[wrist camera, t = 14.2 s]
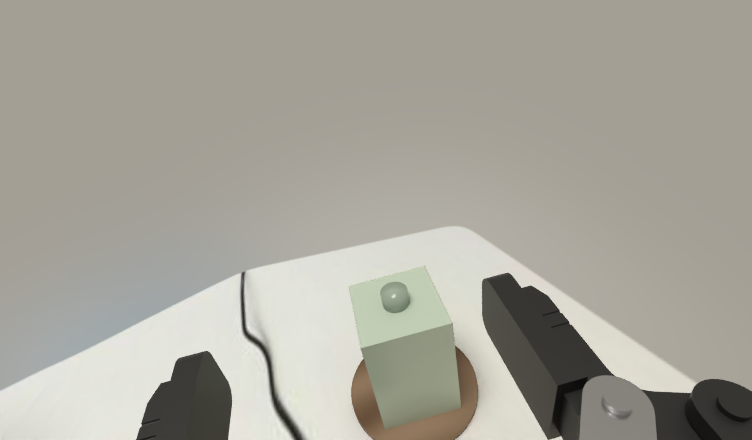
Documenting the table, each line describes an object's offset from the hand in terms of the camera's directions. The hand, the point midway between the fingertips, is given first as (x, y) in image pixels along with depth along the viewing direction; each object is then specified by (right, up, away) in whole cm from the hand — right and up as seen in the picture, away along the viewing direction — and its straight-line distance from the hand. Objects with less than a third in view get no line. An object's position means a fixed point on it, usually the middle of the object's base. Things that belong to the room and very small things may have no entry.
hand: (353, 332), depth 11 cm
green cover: (+4, -11, +23) cm, 26 cm away
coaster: (+4, -12, +24) cm, 27 cm away
